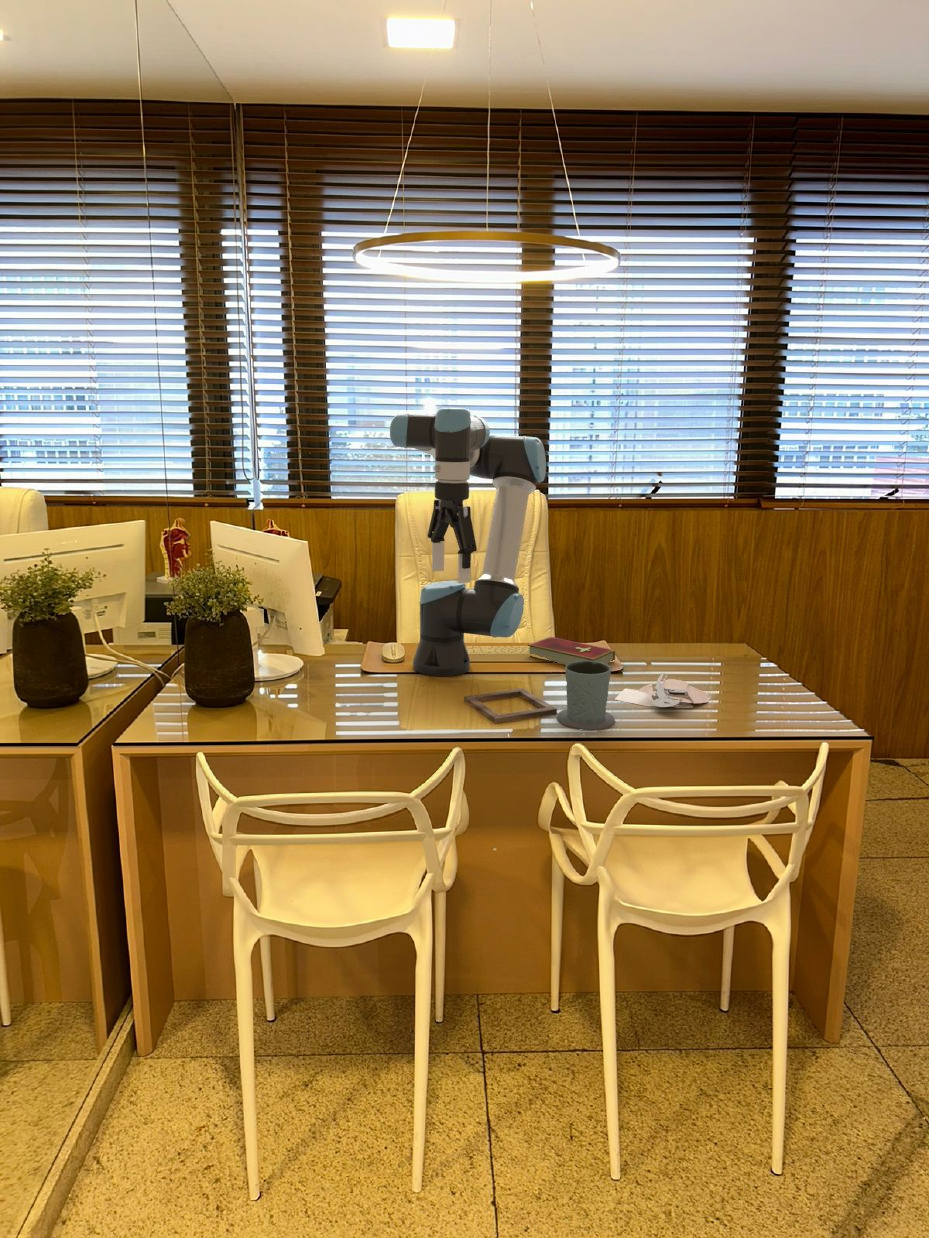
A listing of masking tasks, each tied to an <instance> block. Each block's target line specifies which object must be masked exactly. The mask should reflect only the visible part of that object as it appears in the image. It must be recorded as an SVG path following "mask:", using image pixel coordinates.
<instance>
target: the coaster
mask: <svg viewBox="0 0 929 1238" xmlns="http://www.w3.org/2000/svg"><path fill="white" fill-rule="evenodd" d="M556 720H557V722H559V723H560V725H562V726H564V727H566V728H570V729H575V730H579V729H582V730H581V731H601V730H606V729H609V728H612V727H613V726H615V725H614V724H615V722H616V721H615V720H616V718H615V717H614V715H612V714H611V713H609V712H607V711H606V714H605V719H604V720H603V721H602V722H599V723H594V724H584V723H578V722H574V721H572V720H570V719H569V718H568V716H567V708H565V709H562V710H561V711H559V712H557V715H556Z"/></svg>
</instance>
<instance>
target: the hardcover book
mask: <svg viewBox="0 0 929 1238" xmlns="http://www.w3.org/2000/svg"><path fill="white" fill-rule="evenodd" d="M527 646H528V647H529V651H528V653H529V654H535V655H538V656H540V657H545V658H547V659H549V660H551V661H555V662H557V663H556V664H560V665H563V664H564V665H565V666H566V665H567V664H568V663H571V662H575V661H597V662H601V663H605V664H607V663H609V662H610V661H613V660H616V650H615V649H610V648H605V647H601V646H597V645H593V644H586V643H583V642H577V641H574V640H573V641H572V640H569V639H564V638H558V637H554V636H548V637H545V638H542V639H540V640H537V641H534V642H531V643H528V644H527ZM555 662H554V663H555ZM609 664H610V663H609ZM607 665H608V664H607Z"/></svg>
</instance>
